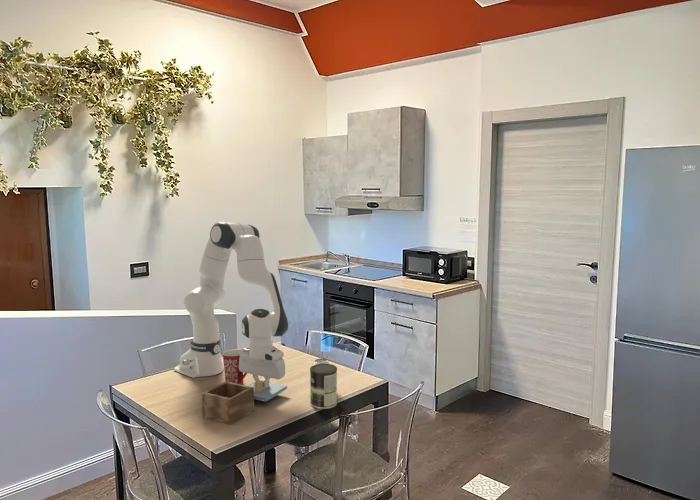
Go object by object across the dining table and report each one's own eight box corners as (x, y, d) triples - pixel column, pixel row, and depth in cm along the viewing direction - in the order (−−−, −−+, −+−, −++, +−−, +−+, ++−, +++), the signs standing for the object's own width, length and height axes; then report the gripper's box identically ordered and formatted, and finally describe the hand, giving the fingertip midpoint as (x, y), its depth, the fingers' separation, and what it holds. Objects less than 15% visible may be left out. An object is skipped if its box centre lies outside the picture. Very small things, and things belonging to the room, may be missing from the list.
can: (327, 392, 212) (327, 363, 210) (312, 391, 213) (311, 362, 211) (331, 386, 218) (331, 358, 216) (316, 385, 219) (316, 357, 218)
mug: (218, 384, 220) (217, 353, 218) (233, 378, 228) (232, 347, 226) (241, 390, 213) (240, 358, 212) (256, 383, 221) (255, 352, 220)
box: (202, 417, 189) (201, 393, 188) (226, 403, 201) (226, 381, 200) (230, 424, 183) (230, 399, 182) (254, 410, 195) (253, 387, 194)
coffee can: (310, 409, 196) (310, 373, 194) (310, 398, 206) (309, 363, 204) (338, 408, 196) (337, 372, 195) (336, 397, 207) (336, 363, 205)
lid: (236, 397, 203) (235, 383, 202) (258, 384, 215) (258, 371, 215) (265, 404, 197) (265, 389, 196) (287, 391, 209) (286, 377, 208)
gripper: (234, 349, 206) (235, 383, 208) (277, 357, 196) (278, 393, 198) (245, 345, 211) (245, 378, 213) (287, 353, 202) (287, 387, 204)
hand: (261, 385), depth 206 cm, fingers closed on lid
